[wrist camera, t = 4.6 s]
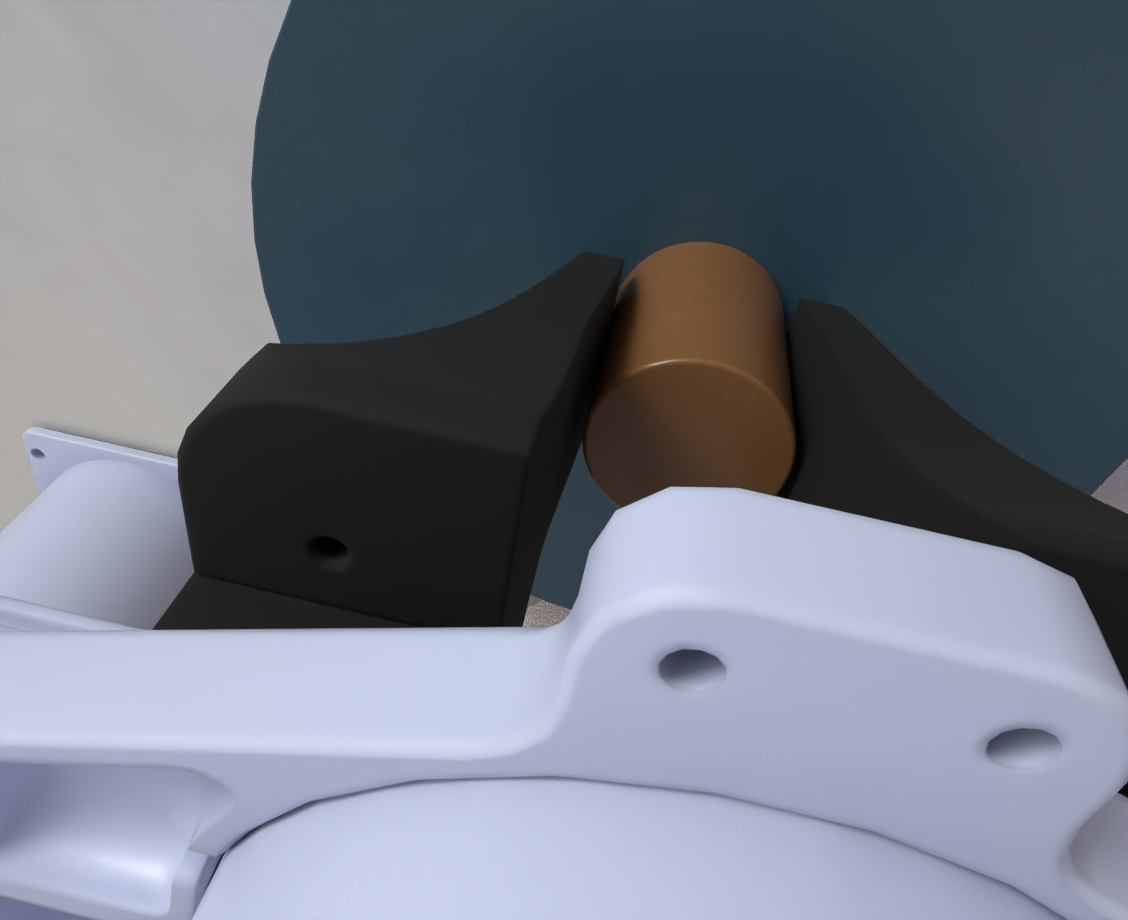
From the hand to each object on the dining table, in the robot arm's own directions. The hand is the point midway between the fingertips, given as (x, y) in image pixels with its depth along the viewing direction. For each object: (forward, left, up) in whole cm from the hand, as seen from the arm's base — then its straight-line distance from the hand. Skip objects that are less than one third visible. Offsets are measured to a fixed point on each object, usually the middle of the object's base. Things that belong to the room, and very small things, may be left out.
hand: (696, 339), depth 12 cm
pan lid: (0, 0, -1) cm, 1 cm away
